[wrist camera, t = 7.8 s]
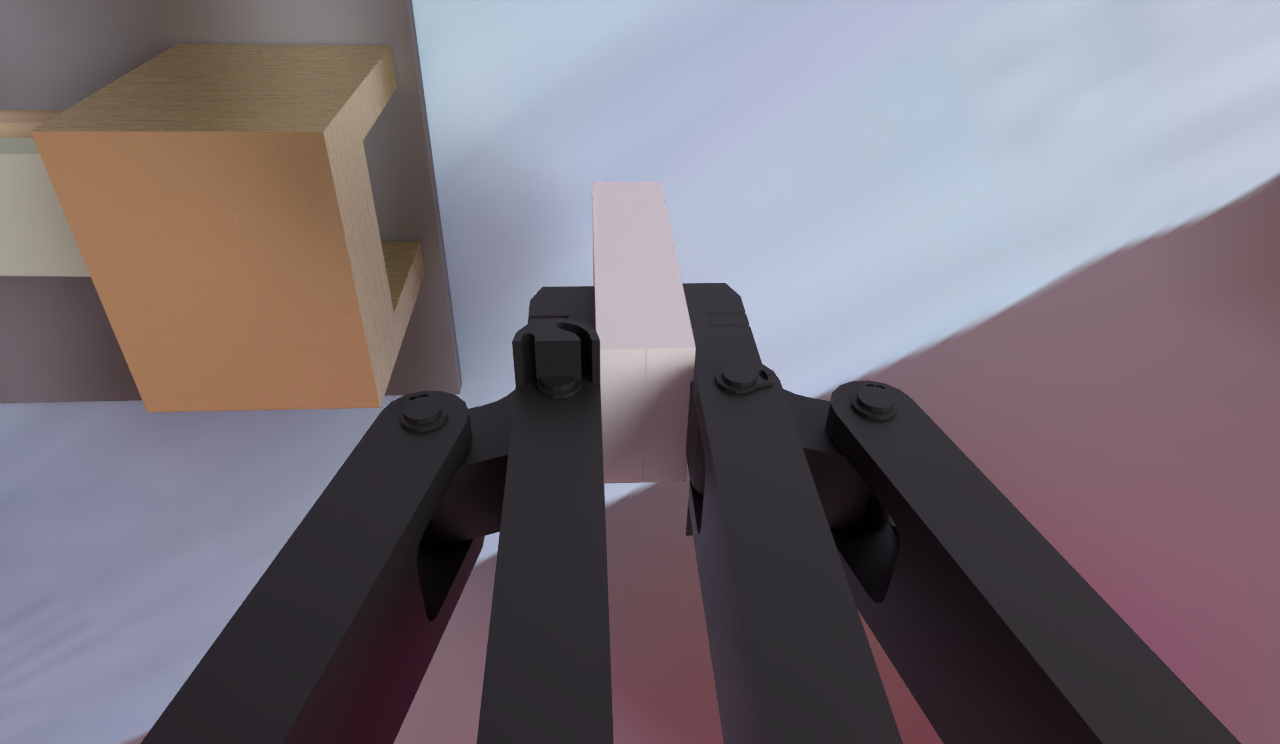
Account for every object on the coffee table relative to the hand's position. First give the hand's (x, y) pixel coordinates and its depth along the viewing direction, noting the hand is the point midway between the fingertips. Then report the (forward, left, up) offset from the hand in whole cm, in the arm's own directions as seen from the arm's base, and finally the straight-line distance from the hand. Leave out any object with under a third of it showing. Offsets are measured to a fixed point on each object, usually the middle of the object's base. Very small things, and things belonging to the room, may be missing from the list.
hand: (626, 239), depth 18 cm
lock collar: (-8, 0, -5) cm, 9 cm away
